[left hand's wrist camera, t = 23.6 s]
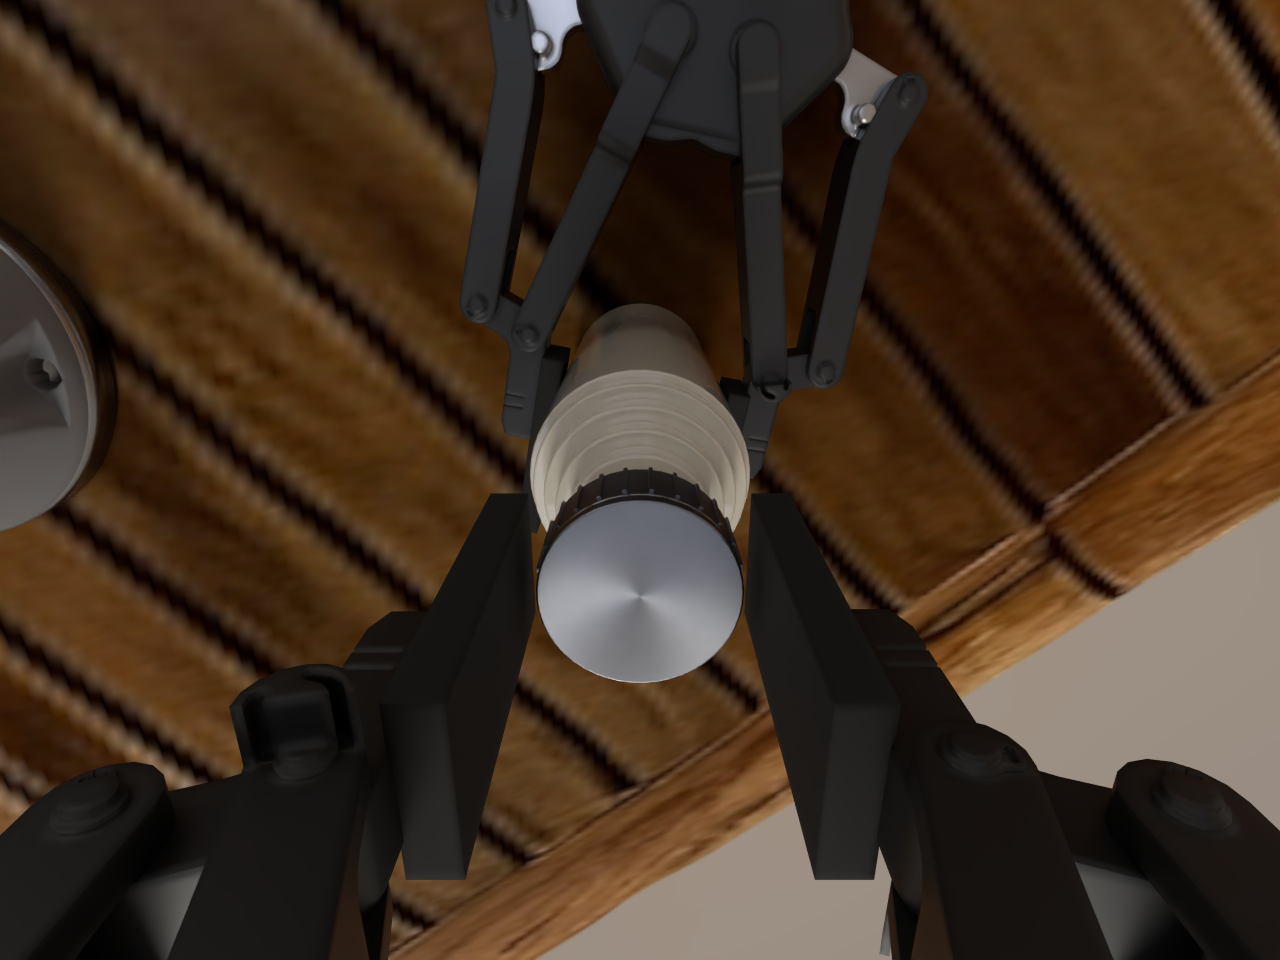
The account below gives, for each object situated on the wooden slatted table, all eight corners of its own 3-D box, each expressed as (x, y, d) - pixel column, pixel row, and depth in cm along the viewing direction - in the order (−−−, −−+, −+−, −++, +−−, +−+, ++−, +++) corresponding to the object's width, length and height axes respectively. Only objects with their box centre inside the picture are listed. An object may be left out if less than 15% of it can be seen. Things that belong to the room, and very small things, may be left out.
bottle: (575, 300, 31) (482, 425, 13) (709, 306, 31) (809, 438, 13) (574, 429, 33) (493, 697, 15) (700, 434, 33) (774, 707, 15)
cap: (614, 426, 14) (611, 455, 12) (775, 533, 14) (791, 573, 13) (508, 575, 15) (493, 619, 13) (662, 666, 16) (664, 718, 14)
